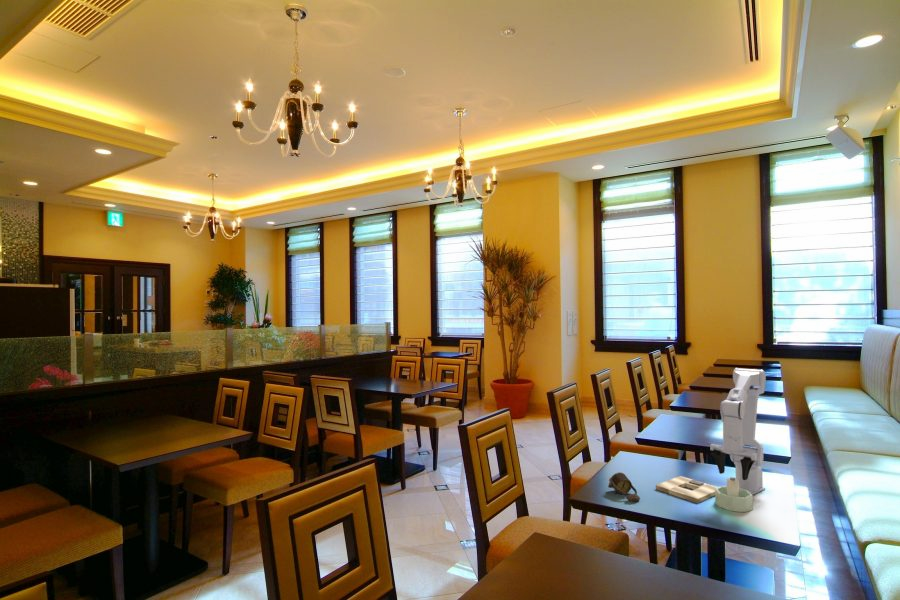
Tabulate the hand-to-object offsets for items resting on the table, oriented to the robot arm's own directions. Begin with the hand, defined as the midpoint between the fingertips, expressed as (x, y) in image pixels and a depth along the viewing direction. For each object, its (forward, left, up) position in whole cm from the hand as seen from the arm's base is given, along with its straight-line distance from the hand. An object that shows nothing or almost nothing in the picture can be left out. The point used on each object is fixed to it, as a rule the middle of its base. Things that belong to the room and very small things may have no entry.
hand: (733, 476), depth 172 cm
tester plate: (0, -16, -10) cm, 19 cm away
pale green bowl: (0, 0, -10) cm, 10 cm away
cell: (0, 0, -9) cm, 9 cm away
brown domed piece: (+22, -27, -10) cm, 37 cm away
